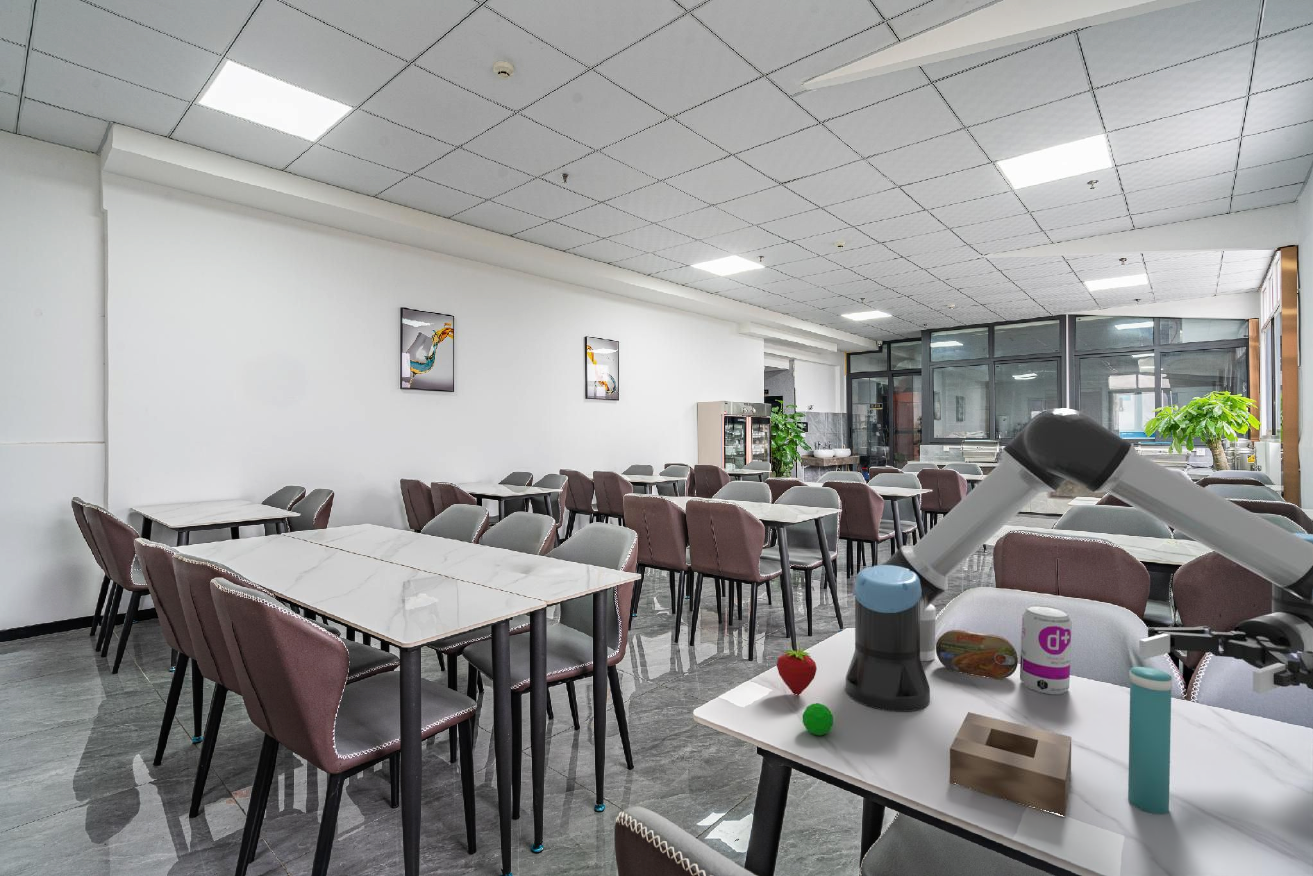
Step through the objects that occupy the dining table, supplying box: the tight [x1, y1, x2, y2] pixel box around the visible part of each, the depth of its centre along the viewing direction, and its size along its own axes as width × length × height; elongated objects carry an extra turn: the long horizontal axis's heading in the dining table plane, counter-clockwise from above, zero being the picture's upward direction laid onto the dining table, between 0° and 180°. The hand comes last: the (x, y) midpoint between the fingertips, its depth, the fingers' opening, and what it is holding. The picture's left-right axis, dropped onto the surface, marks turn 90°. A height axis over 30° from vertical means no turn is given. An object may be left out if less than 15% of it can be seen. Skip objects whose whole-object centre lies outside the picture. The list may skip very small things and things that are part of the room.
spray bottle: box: [920, 603, 937, 662], centre depth 141 cm, size 7×7×18 cm
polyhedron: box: [802, 702, 834, 736], centre depth 106 cm, size 5×5×5 cm
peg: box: [1127, 666, 1174, 815], centre depth 86 cm, size 5×5×18 cm
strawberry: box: [776, 641, 818, 696], centre depth 121 cm, size 6×8×10 cm
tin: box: [935, 629, 1019, 680], centre depth 131 cm, size 15×3×8 cm, turn 58°
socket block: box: [949, 711, 1072, 817], centre depth 93 cm, size 14×14×5 cm
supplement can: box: [1019, 604, 1073, 695], centre depth 124 cm, size 8×8×15 cm
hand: (1195, 664), depth 90 cm, fingers open, 13 cm apart
